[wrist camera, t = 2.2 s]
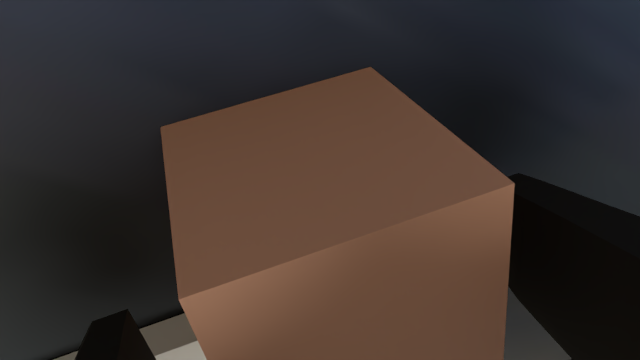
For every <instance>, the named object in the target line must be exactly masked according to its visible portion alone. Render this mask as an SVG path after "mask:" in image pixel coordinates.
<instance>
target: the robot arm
mask: <svg viewBox="0 0 640 360" xmlns="http://www.w3.org/2000/svg"><path fill="white" fill-rule="evenodd" d="M507 178H509V179H510V180H511V181H512V182H514V183H515V187H514V202H513V218H512V233H511V249H510V264H509V280H508V286H509V288H510V289H511V290H512V292H513V293H514V294H515V296H516V297H517V299H518V300H519V301H520V302H521V303H522V304H523V305H524V306H525V308H526V309H527V310H528V311H529V312H530V313H531V314H532V315H533V317H534V318H535V319H536V320H537V321H538V322H539V323H540V324H541V325H542V326H543V328H544V329H545V330H546V331H547V332H548V333H549V334H550V335H551V336H552V337H553V338H554V340H555V341H556V342H557V343H558V344H559V345H560V346H561V347H562V348H563V349H564V350H565V352H566V353H567V354H568V355H569V356H570V357H571V358H572V359H573V360H640V217H639V216H637V215H634V214H631V213H628V212H625V211H623V210H620V209H617V208H614V207H611V206H609V205H606V204H603V203H601V202H598V201H595V200H592V199H590V198H587V197H584V196H582V195H579V194H576V193H574V192H571V191H568V190H566V189H563V188H560V187H557V186H555V185H552V184H549V183H546V182H544V181H541V180H538V179H535V178H532V177H529V176H526V175H523V174H519V173H518V174H515V175H512V176H509V177H507ZM75 360H156V358H155V356H154V355H153V353H152V351H151V349H150V348H149V346H148V344H147V342H146V341H145V339H144V337H143V335H142V334H141V332H140V330H139V328H138V327H137V325H136V323H135V321H134V320H133V318H132V316H131V314H130V312H129V311H128V309H127V310H124V311H121V312H118V313H115V314H112V315H109V316H107V317H104V318H101V319H98V320H95V321H92V323H91V325H90V326H89V328H88V330H87V333H86V335H85V337H84V339H83V341H82V344H81V346H80V348H79V350H78V353H77V355H76V357H75Z"/></svg>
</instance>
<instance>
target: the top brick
mask: <svg viewBox="0 0 640 360" xmlns="http://www.w3.org/2000/svg"><path fill="white" fill-rule="evenodd" d="M160 129H161V138H162V148H163V157H164V167H165V176H166V186H167V195H168V205H169V214H170V224H171V233H172V243H173V252H174V262H175V271H176V281H177V290H178V300H179V302H180V304H181V306H182V308H183V310H184V312H185V315H186V317H187V319H188V321H189V323H190V325H191V327H192V329H193V332H194V334H195V336H196V338H197V340H198V342H199V344H200V346H201V349H202V351H203V353H204V355H205V357H206V359H207V360H503V357H504V342H505V326H506V311H507V295H508V280H509V264H510V249H511V233H512V218H513V202H514V187H515V183H514V182H512V181H511V180H510V179H509V178H507V177H506V176H505V175H504V174H503V173H501V172H500V171H499V170H498V169H496V168H495V167H494V166H493V165H491V164H490V163H489V162H488V161H486V160H485V159H484V158H483V157H482V156H480V155H479V154H478V153H477V152H475V151H474V150H473V149H472V148H470V147H469V146H468V145H467V144H466V143H464V142H463V141H462V140H461V139H459V138H458V137H457V136H456V135H454V134H453V133H452V132H451V131H449V130H448V129H447V128H446V127H445V126H443V125H442V124H441V123H440V122H438V121H437V120H436V119H435V118H433V117H432V116H431V115H430V114H428V113H427V112H426V111H425V110H424V109H422V108H421V107H420V106H419V105H417V104H416V103H415V102H414V101H412V100H411V99H410V98H409V97H407V96H406V95H405V94H404V93H403V92H401V91H400V90H399V89H398V88H396V87H395V86H394V85H393V84H391V83H390V82H389V81H388V80H386V79H385V78H384V77H383V76H382V75H380V74H379V73H378V72H377V71H375V70H374V69H373V68H372V67H368V68H364V69H361V70H357V71H354V72H350V73H347V74H343V75H340V76H336V77H333V78H330V79H326V80H323V81H319V82H316V83H312V84H309V85H305V86H302V87H298V88H295V89H291V90H288V91H284V92H281V93H277V94H274V95H270V96H267V97H263V98H260V99H256V100H253V101H249V102H246V103H242V104H239V105H235V106H232V107H228V108H225V109H221V110H218V111H214V112H211V113H207V114H204V115H200V116H197V117H194V118H190V119H187V120H183V121H180V122H176V123H173V124H169V125H166V126H162V127H160Z"/></svg>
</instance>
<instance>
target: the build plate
mask: <svg viewBox="0 0 640 360" xmlns="http://www.w3.org/2000/svg"><path fill="white" fill-rule="evenodd" d="M139 330H140V332H141V334H142V335H143V337H144V339H145V341H146V342H147V344H148V346H149V348H150V349H151V351H152V353H153V355H154V356H155V358H156V360H207V359H206V357H205V355H204V353H203V351H202V349H201V346H200V344H199V342H198V340H197V338H196V336H195V334H194V332H193V329H192V327H191V325H190V323H189V321H188V319H187V317H186V315H185V313H183V314H181V315H178V316H175V317H172V318H169V319H166V320H164V321H161V322H158V323H155V324H152V325H150V326H147V327H144V328H141V329H139ZM77 353H78V351H76V352H73V353H70V354H67V355H65V356H62V357H59V358H56V359H53V360H75V357H76V355H77Z"/></svg>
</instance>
